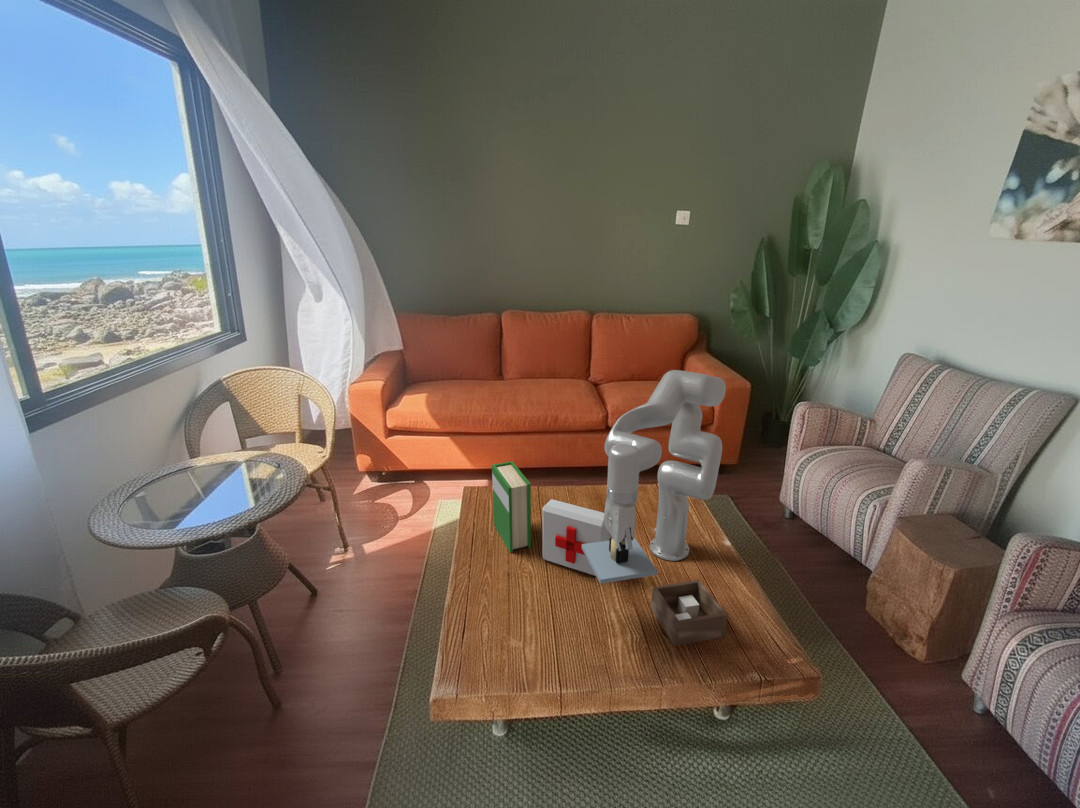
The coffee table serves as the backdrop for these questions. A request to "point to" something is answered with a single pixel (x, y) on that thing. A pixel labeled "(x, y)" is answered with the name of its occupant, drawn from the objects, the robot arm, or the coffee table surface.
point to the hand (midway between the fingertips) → (618, 555)
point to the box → (690, 629)
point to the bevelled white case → (570, 534)
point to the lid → (612, 571)
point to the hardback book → (511, 505)
